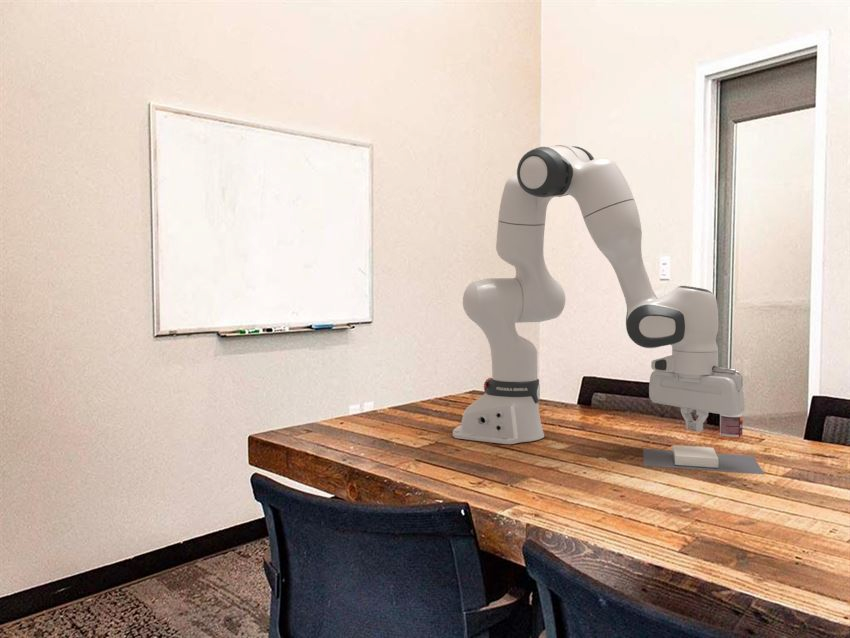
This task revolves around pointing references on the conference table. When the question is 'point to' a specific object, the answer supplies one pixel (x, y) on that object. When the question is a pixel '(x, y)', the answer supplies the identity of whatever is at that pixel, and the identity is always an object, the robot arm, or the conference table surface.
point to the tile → (695, 456)
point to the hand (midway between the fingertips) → (694, 430)
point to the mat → (724, 464)
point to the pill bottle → (731, 426)
